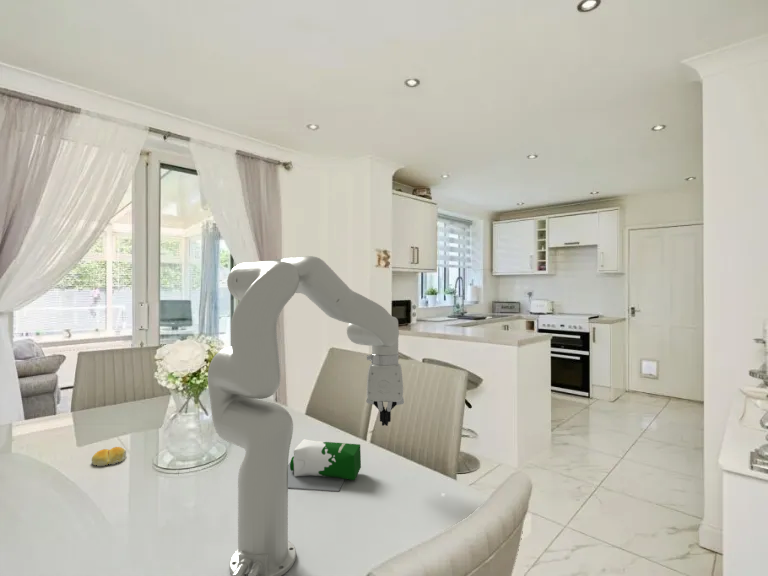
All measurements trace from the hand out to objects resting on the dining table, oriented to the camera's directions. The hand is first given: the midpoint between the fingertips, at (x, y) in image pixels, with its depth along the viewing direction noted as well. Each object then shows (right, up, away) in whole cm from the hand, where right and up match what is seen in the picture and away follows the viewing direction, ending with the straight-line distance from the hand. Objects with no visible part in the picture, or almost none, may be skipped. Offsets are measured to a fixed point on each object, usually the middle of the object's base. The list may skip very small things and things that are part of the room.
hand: (385, 424), depth 115 cm
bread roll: (-87, -16, +12) cm, 89 cm away
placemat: (-21, -16, +2) cm, 26 cm away
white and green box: (-8, -11, +1) cm, 13 cm away
